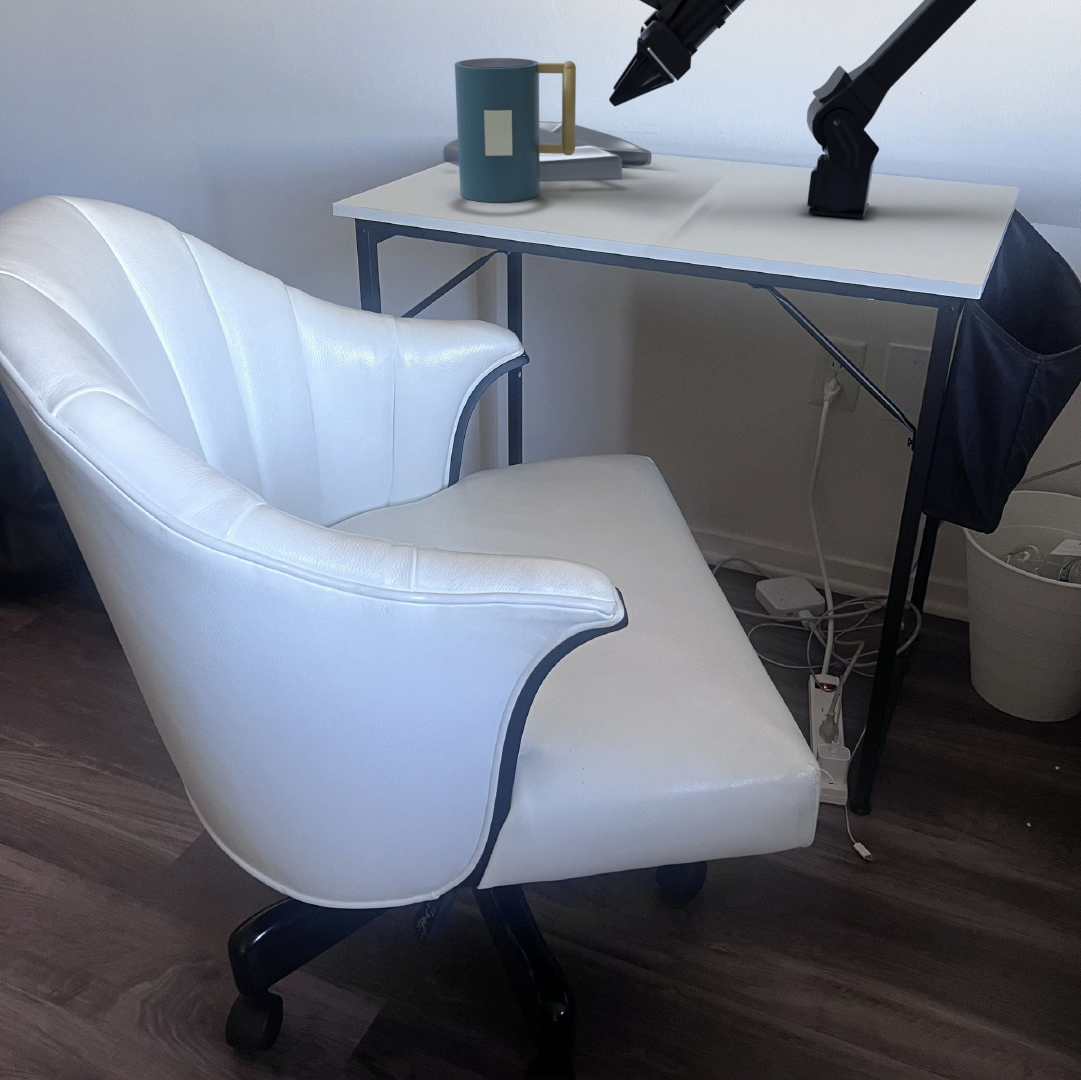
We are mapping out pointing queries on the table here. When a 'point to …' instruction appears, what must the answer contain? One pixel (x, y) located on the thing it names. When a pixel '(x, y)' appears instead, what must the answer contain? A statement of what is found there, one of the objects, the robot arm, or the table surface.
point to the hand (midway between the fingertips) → (613, 97)
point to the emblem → (579, 155)
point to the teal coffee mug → (506, 126)
